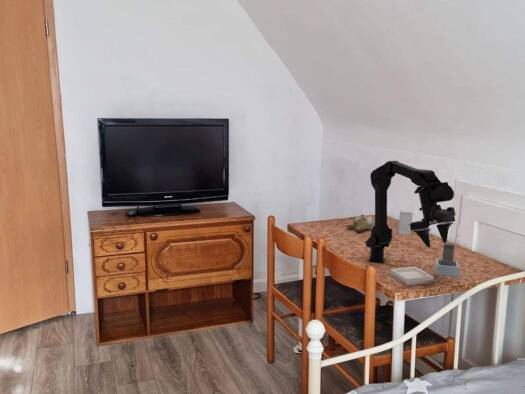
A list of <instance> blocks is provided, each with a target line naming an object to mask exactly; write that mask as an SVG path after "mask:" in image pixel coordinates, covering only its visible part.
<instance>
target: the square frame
mask: <svg viewBox="0 0 525 394" xmlns="http://www.w3.org/2000/svg"><path fill="white" fill-rule="evenodd" d="M459 265H460V264H459V262H458V261H457V260H453V265H452V266H445V265H442V258H441V259H439V258H435V263H434V271H435V275H436V276H442V277H444V276H445V277H453V278H454V277H455V278H459V277H460V266H459Z"/></svg>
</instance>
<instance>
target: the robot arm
mask: <svg viewBox="0 0 525 394" xmlns="http://www.w3.org/2000/svg"><path fill="white" fill-rule="evenodd" d="M396 174H397V175H398V176H399V175H400V176H403V177H404V178H407V179H409V180H410V181H411V183H412V184H414V185H415V186H417V187H416V189H415V190H414V194H415V195H416V194H418V197H419V202H420V207H419V209H418V210H419V212H420V211H421V212H422V218H421V220H417V221H412V223H411V224H410V229H411V231H412V232H413V233H416V234H417V236H418V237H419V238H420V239H421V241H422V242H423V244H424V245H425V246H426V248H431V240H430V234H429V233H430V231H431V228H429V227H430V226H432V225H436V226H435V227H436V229H437V231H438V232H439V235H440V238H441V241H442V242H443V244H444V243H448V234H449V229H450V227H451V226H452V225H454V222H455V221H456V218H455V216H456V211H455V208H454V207H452V206H449V207H447V208H444V209H443V208H442V206H441V204H438V203H444V202H450V201H452V200H453V199H454V197H455V192H454V191H455V190H453V188H452V186H450V185H449V182H448V181H445V182H441V180H440V179H439V178H438V176H437V175H436V173H435V171H434V170H431V169H424V168H423V169H422V168H421V169H419V168H416V167H413V166H410V165H407V164H404V163H403V162H399V161H398V160H387V161H386V162H385V163H384V164H382V165H381V166H379V167H376V168H375V169H373V170H372V171H371V172H370V177H369V178H370V185H371V187H372V188H373V190H374V224H373V228H372V229H370V231H371V232H370V236H369V238H368V239H366V240H365V246H366V248H370V250H369V252H370V253H369V257H368V263H380V264H384V263H385V257H384V254H385V248H389V247H390V244H391V242H392V239H393V228H390V227H389V225H388V190H389V188H390V186H391V183H392V178H393V177H395V176H396Z"/></svg>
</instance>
